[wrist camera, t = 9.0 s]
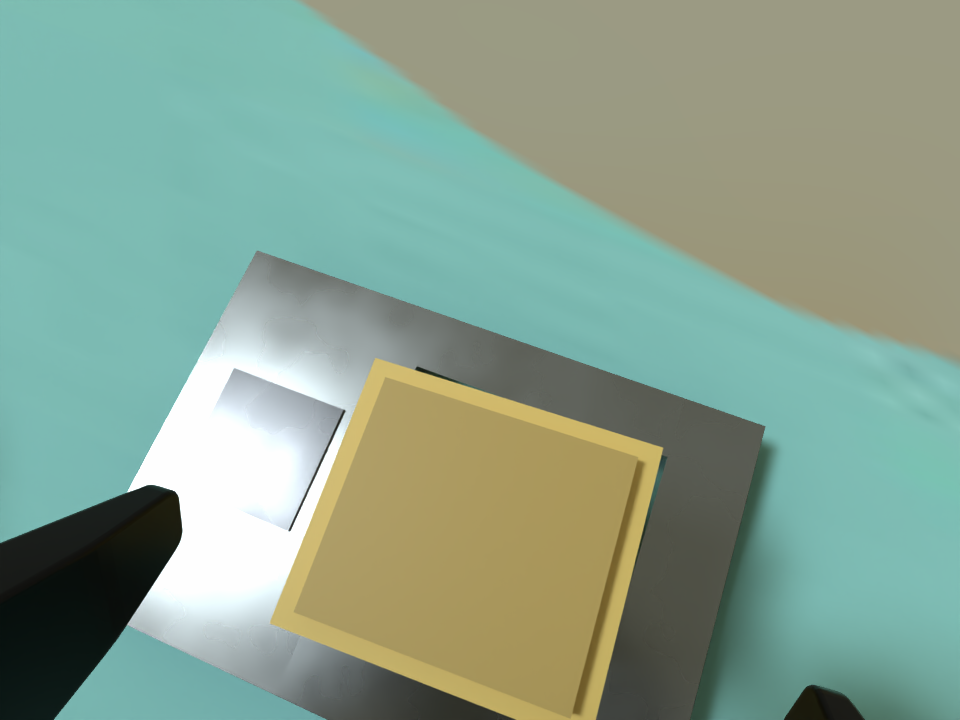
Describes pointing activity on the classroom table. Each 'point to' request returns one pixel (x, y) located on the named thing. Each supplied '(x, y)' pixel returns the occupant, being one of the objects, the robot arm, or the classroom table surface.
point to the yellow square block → (474, 545)
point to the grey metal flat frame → (311, 453)
